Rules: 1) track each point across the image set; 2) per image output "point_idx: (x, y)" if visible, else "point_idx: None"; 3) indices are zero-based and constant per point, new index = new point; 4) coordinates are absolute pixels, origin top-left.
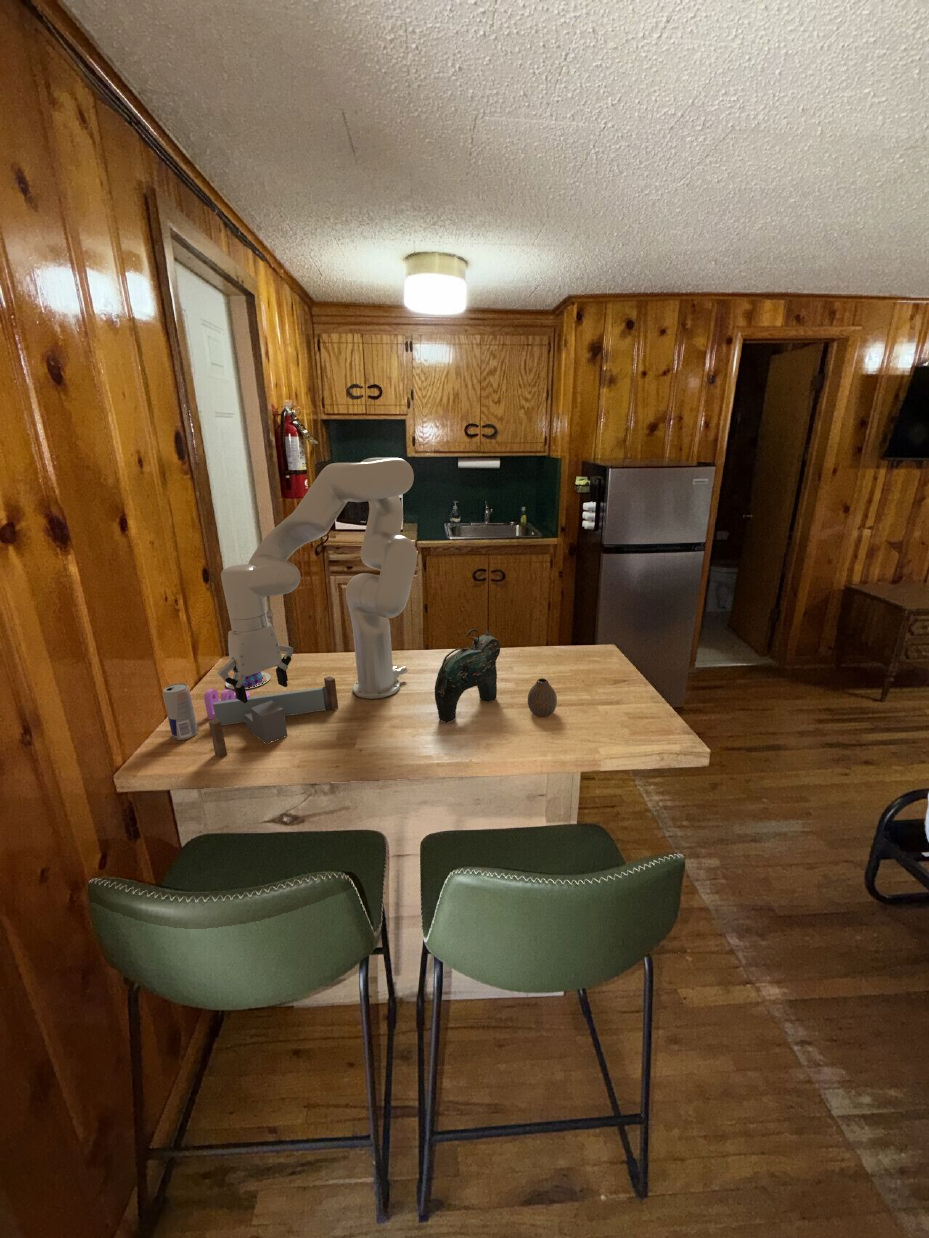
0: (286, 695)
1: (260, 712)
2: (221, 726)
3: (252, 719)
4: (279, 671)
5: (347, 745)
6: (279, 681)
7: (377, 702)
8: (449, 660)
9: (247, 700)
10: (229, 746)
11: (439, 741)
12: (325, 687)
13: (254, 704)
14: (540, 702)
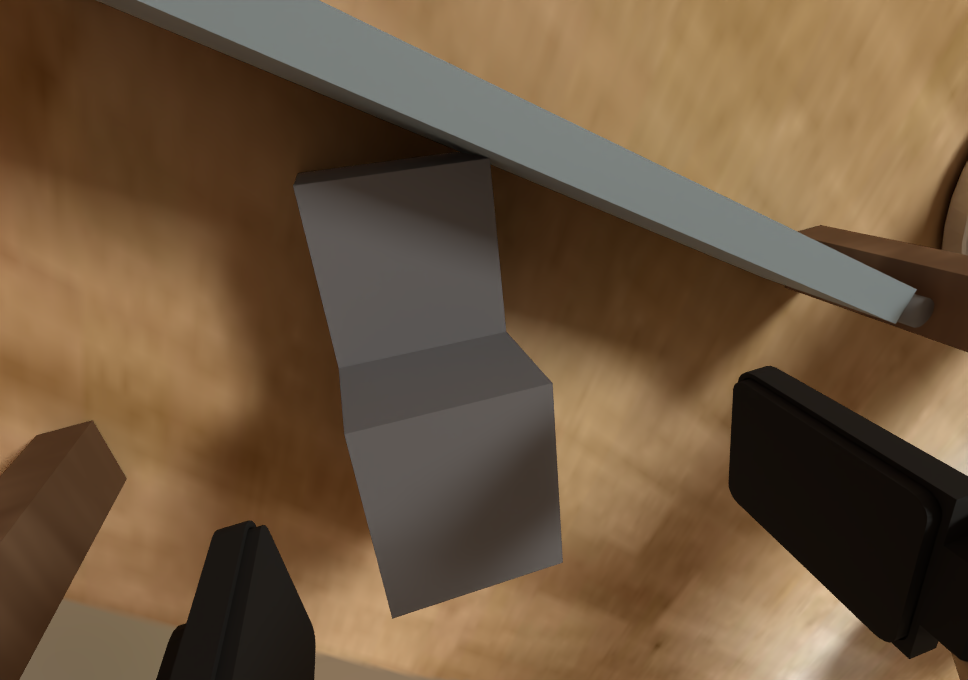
0: (693, 236)
1: (401, 551)
2: (20, 671)
3: (343, 331)
4: (901, 595)
5: (644, 605)
6: (763, 434)
7: None
8: None
9: (313, 651)
10: (145, 383)
11: (826, 667)
12: (919, 321)
13: (420, 125)
14: None
